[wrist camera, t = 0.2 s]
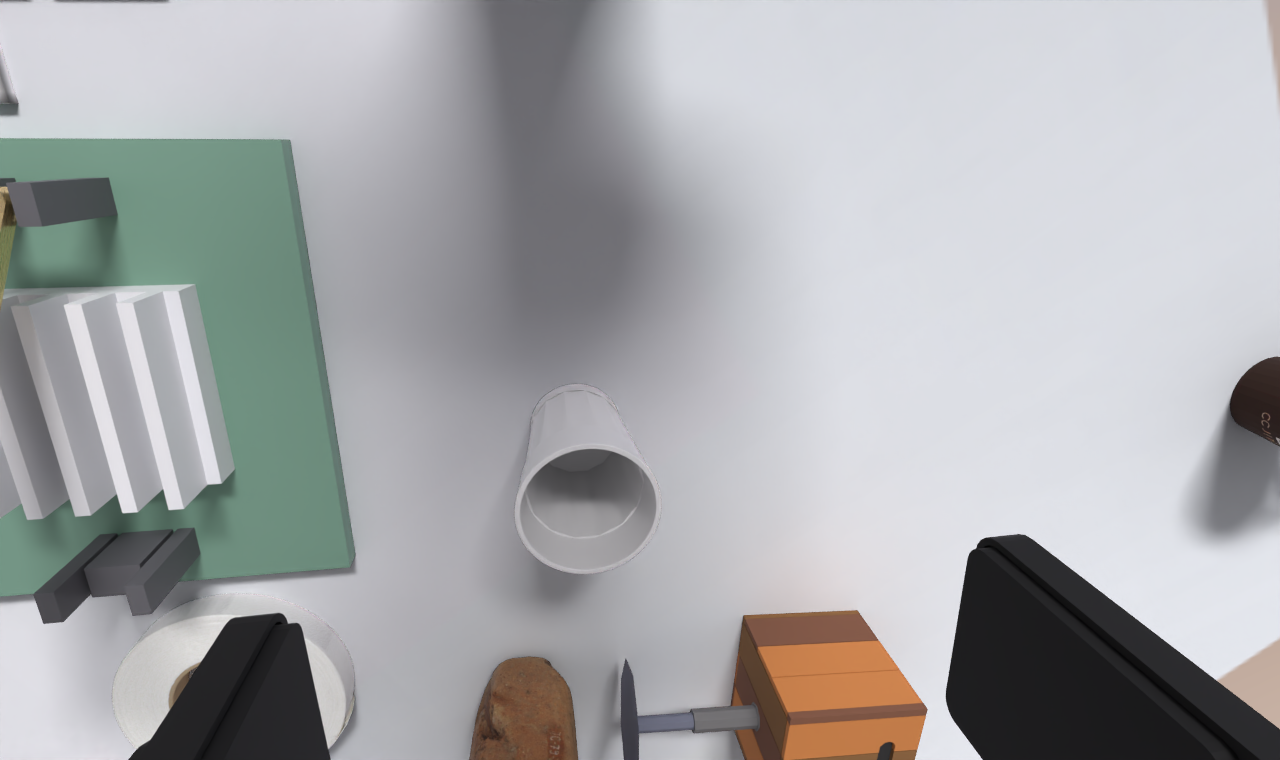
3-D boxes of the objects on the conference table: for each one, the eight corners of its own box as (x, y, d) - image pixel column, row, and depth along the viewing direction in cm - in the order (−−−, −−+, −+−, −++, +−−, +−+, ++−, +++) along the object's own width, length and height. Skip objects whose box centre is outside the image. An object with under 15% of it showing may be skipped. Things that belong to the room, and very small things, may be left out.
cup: (546, 493, 49) (550, 595, 38) (499, 399, 46) (488, 480, 35) (647, 450, 49) (681, 540, 38) (606, 354, 46) (630, 420, 35)
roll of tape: (142, 758, 51) (121, 792, 48) (123, 587, 47) (98, 614, 44) (357, 753, 54) (348, 785, 51) (358, 592, 49) (349, 617, 47)
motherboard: (-193, 138, 35) (-378, 135, 28) (289, 140, 39) (235, 137, 32) (-24, 585, 45) (-131, 670, 37) (355, 555, 48) (324, 626, 41)
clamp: (623, 619, 54) (655, 775, 40) (857, 609, 57) (957, 750, 44) (616, 724, 57) (642, 900, 44) (836, 708, 60) (924, 868, 47)
